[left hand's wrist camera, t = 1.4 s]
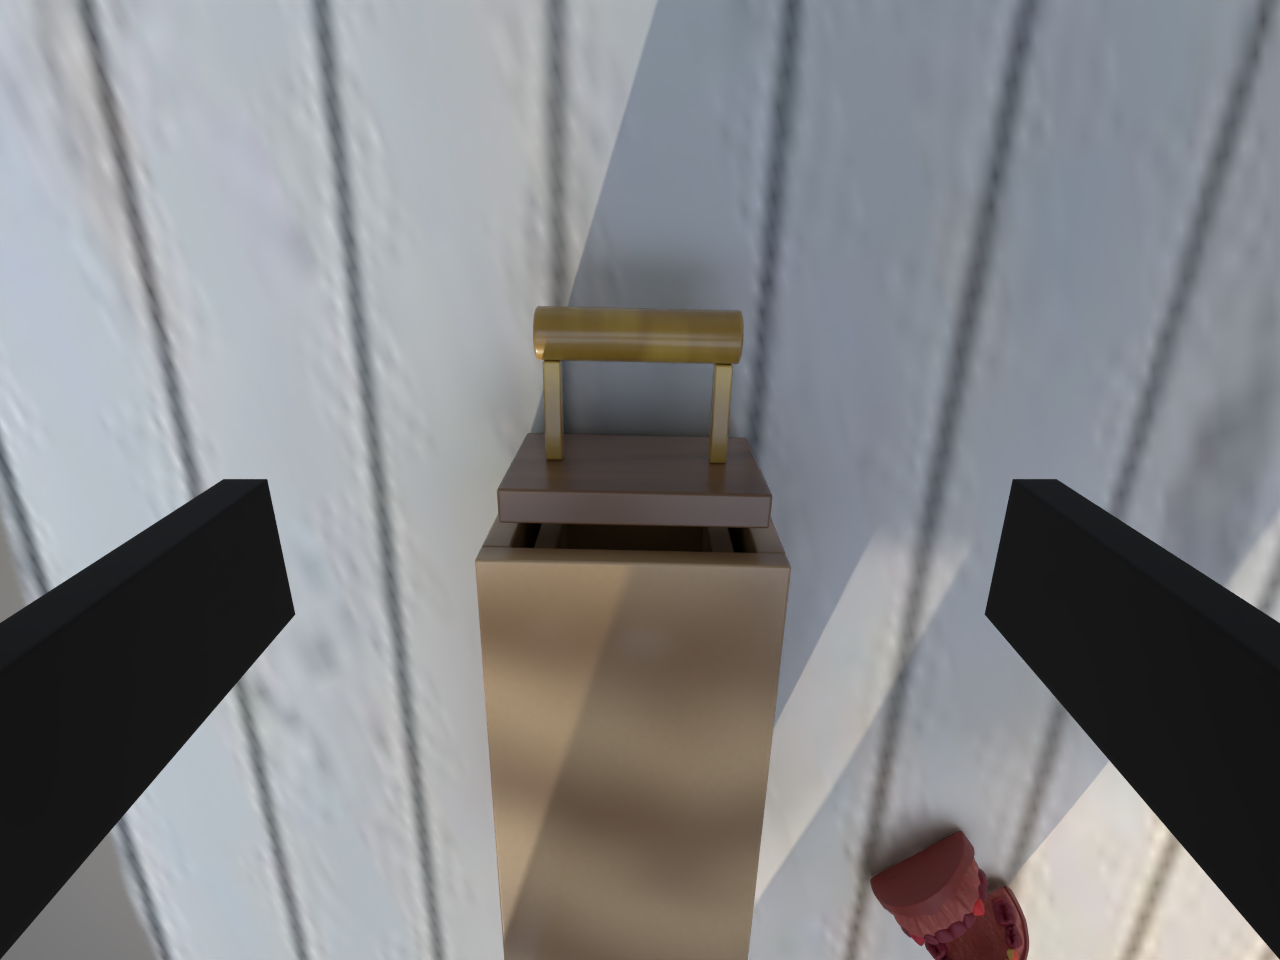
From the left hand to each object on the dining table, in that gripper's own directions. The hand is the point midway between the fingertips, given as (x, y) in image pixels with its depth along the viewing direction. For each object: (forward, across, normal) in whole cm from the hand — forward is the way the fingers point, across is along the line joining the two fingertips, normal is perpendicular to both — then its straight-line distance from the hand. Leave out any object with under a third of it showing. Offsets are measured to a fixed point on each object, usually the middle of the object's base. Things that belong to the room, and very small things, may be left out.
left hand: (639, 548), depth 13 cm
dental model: (+16, -16, +28) cm, 36 cm away
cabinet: (+16, 0, +14) cm, 22 cm away
